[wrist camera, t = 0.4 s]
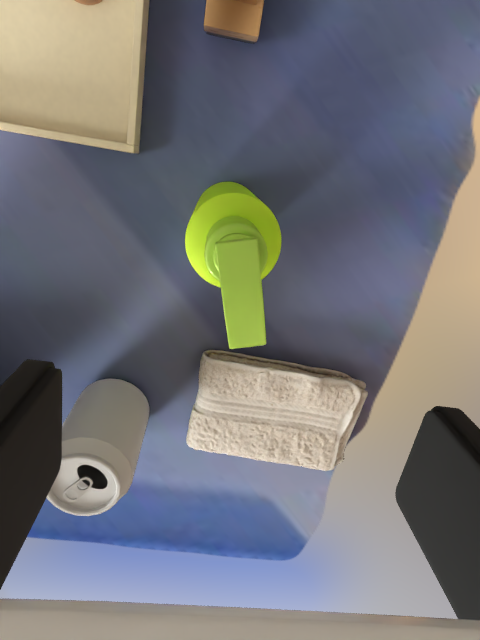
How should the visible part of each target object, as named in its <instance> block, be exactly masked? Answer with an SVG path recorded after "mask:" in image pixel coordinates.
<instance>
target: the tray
mask: <svg viewBox="0 0 480 640" xmlns="http://www.w3.org/2000/svg"><path fill="white" fill-rule="evenodd" d="M148 14H149V0H103V1H102V2H100V3H98V4H95V5H84V4H80V3H78V2H76V1H75V0H0V130H3V131H9V132H15V133H20V134H26V135H32V136H37V137H43V138H49V139H55V140H60V141H66V142H72V143H77V144H83V145H89V146H94V147H100V148H106V149H111V150H117V151H123V152H129V153H136V154H139V144H140V129H141V115H142V100H143V86H144V72H145V57H146V43H147V28H148Z"/></svg>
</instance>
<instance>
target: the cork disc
mask: <svg viewBox="0 0 480 640" xmlns="http://www.w3.org/2000/svg"><path fill="white" fill-rule="evenodd" d="M75 1H76V2H78V3H80V4H84V5H95V4H98V3H100V2H102V1H103V0H75Z"/></svg>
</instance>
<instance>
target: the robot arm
mask: <svg viewBox="0 0 480 640" xmlns="http://www.w3.org/2000/svg"><path fill="white" fill-rule="evenodd" d="M61 461H62V371H61V369H56V368H55V366H54V363H53V362H48V361H39V360H30V359H27V360H25V361H24V362H23V363H22V364H21V365H20V366H19V368H18V369H17V370H16V371H15V372H14V373H13V374H12V375H11V376H10V377H9V378H8V379H7V380H6V381H5V382H4V383H3V384H2V386H1V387H0V589H1V587H2V585H3V583H4V581H5V579H6V577H7V575H8V573H9V571H10V569H11V567H12V565H13V563H14V561H15V559H16V557H17V555H18V553H19V551H20V549H21V547H22V545H23V543H24V541H25V539H26V537H27V535H28V533H29V531H30V529H31V527H32V525H33V523H34V521H35V519H36V517H37V515H38V513H39V511H40V509H41V507H42V505H43V503H44V501H45V499H46V497H47V495H48V493H49V491H50V489H51V487H52V485H53V483H54V481H55V479H56V477H57V475H58V473H59V470H60V466H61ZM396 500H397V503H398V505H399V507H400V509H401V511H402V513H403V515H404V517H405V519H406V521H407V522H408V524H409V526H410V528H411V530H412V532H413V534H414V536H415V538H416V540H417V541H418V543H419V545H420V547H421V549H422V551H423V553H424V555H425V556H426V559H427V560H428V562H429V564H430V566H431V568H432V570H433V572H434V574H435V575H436V577H437V579H438V581H439V583H440V585H441V587H442V589H443V591H444V593H445V595H446V596H447V598H448V600H449V602H450V604H451V606H452V608H453V610H454V612H455V613H456V615H457V617H458V619H447V618H430V617H413V616H395V615H375V614H357V613H356V614H355V613H338V612H319V611H300V610H279V609H260V608H240V607H218V606H196V605H174V604H152V603H131V602H109V601H76V600H40V599H38V600H37V599H0V640H480V429H479V428H478V427H477V426H476V425H475V424H474V423H473V422H472V421H471V420H470V419H469V418H468V417H467V416H466V415H465V414H464V412H462V411H461V410H460V409H457V408H450V407H441V406H436V407H434V408H433V409H432V410H431V411H428V412H427V413H426V414H425V416H424V418H423V421H422V424H421V426H420V429H419V431H418V434H417V436H416V439H415V441H414V444H413V447H412V449H411V452H410V454H409V457H408V460H407V462H406V465H405V467H404V470H403V472H402V475H401V477H400V480H399V482H398V485H397V488H396Z"/></svg>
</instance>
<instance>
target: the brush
mask: <svg viewBox="0 0 480 640" xmlns="http://www.w3.org/2000/svg"><path fill="white" fill-rule="evenodd" d="M263 5H264V0H206V9H205V18H204V31H206V33H207V34H209V35H213V36H218V37H223V38H228V39H232V40H237V41H242V42H246V43H251V44H254V42H257V39H258V37H259V31H260V24H261V18H262V11H263Z"/></svg>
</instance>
